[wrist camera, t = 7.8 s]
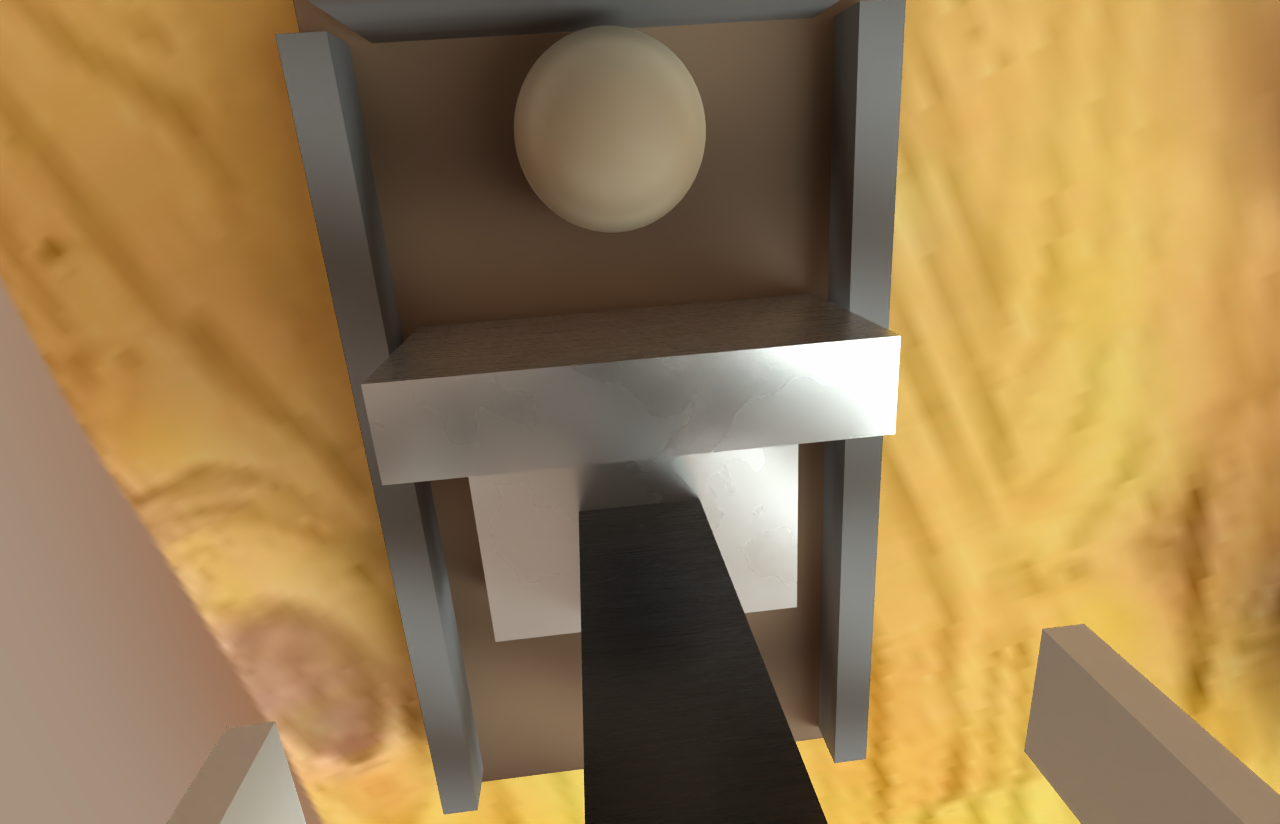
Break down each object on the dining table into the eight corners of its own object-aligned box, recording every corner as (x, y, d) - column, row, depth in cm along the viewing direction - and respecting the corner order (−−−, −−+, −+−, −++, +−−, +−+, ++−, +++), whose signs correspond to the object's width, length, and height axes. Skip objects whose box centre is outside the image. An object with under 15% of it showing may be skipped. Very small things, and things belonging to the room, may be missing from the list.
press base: (289, -127, 15) (49, -384, 8) (856, -150, 16) (1077, -402, 9) (461, 748, 24) (414, 993, 17) (831, 702, 24) (936, 915, 17)
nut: (510, 50, 16) (490, 10, 12) (685, 40, 16) (720, -3, 12) (531, 232, 17) (520, 248, 13) (693, 219, 17) (727, 232, 13)
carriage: (419, 326, 17) (-314, 1053, 3) (813, 293, 18) (1761, 754, 4) (467, 601, 20) (204, 1679, 6) (809, 563, 20) (1346, 1441, 6)
